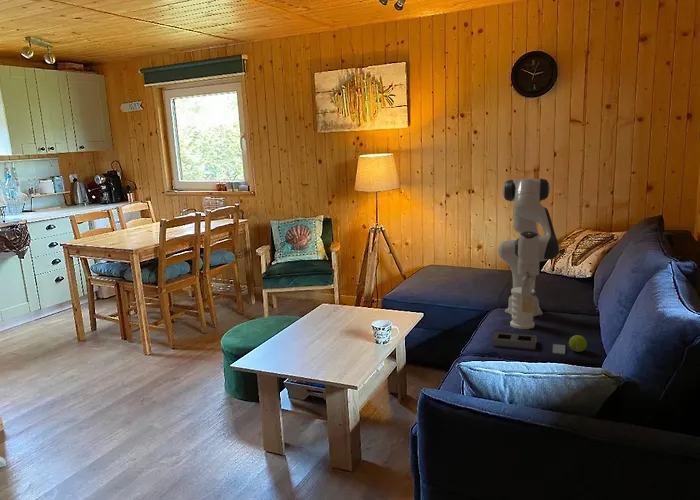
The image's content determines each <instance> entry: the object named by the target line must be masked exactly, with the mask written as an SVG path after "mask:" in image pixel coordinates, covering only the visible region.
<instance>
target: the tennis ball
mask: <svg viewBox="0 0 700 500" xmlns="http://www.w3.org/2000/svg"><path fill="white" fill-rule="evenodd" d="M568 345H569V349H571V350H572V351H574V352H576V353H577V352H578V353H580V352H583V351H585V350H586V348H587V346H588V343H587V339H586V338H585V337H584V336H582V335H577V334H576V335H573V336H571V337H570V338H569V341H568Z"/></svg>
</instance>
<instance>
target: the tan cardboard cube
mask: <svg viewBox="0 0 700 500" xmlns="http://www.w3.org/2000/svg"><path fill="white" fill-rule="evenodd" d="M532 311H533V292H531V295H530V302H529V303H525V297H524V296H523V297H522V312H526V313H532Z"/></svg>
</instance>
